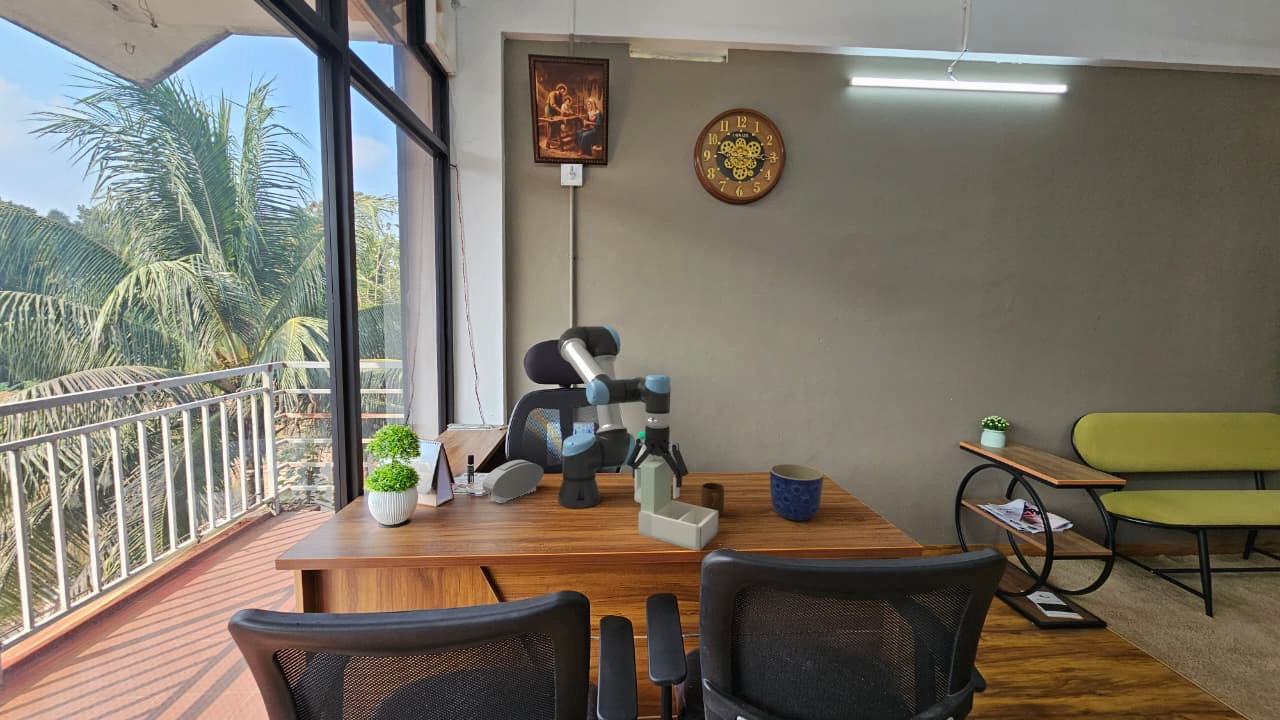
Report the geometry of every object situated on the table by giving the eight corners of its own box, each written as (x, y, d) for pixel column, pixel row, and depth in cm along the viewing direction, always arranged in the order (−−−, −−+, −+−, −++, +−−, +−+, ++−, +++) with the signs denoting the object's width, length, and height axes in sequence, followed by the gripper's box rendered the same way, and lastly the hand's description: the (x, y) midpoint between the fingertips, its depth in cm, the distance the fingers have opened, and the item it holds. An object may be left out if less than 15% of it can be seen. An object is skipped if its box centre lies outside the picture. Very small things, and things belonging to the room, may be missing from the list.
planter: (759, 515, 158) (760, 471, 156) (782, 501, 170) (783, 460, 169) (808, 531, 146) (810, 483, 145) (829, 515, 159) (831, 471, 157)
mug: (727, 523, 151) (728, 495, 150) (704, 523, 151) (704, 495, 150) (721, 509, 163) (722, 482, 162) (699, 508, 163) (699, 482, 162)
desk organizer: (638, 534, 143) (638, 505, 142) (660, 518, 155) (660, 491, 154) (699, 551, 133) (700, 520, 132) (717, 532, 145) (718, 504, 144)
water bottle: (656, 498, 172) (656, 431, 170) (650, 505, 165) (651, 435, 163) (638, 496, 174) (638, 429, 172) (631, 503, 167) (631, 433, 165)
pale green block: (640, 510, 143) (641, 465, 142) (658, 498, 153) (658, 456, 152) (653, 513, 141) (654, 467, 140) (670, 501, 151) (671, 458, 149)
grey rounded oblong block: (532, 485, 185) (532, 453, 184) (543, 488, 181) (543, 456, 180) (482, 503, 166) (481, 467, 165) (493, 507, 162) (492, 471, 161)
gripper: (616, 422, 148) (616, 488, 150) (689, 433, 135) (687, 505, 137) (629, 418, 154) (629, 481, 156) (699, 428, 142) (698, 496, 144)
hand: (656, 492), depth 147 cm, fingers open, 13 cm apart
